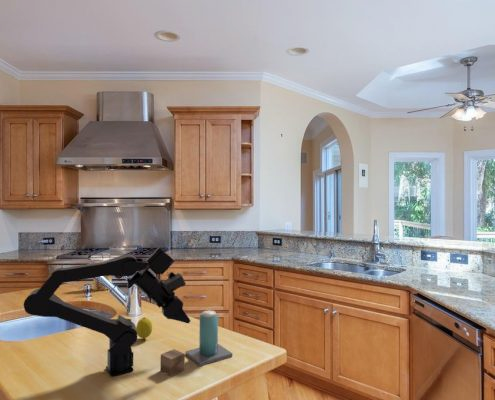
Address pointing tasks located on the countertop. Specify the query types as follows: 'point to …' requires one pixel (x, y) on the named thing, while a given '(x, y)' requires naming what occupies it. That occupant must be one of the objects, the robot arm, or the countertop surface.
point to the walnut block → (172, 362)
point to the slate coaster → (203, 360)
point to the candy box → (98, 285)
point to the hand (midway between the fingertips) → (186, 317)
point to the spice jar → (208, 333)
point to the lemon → (144, 327)
